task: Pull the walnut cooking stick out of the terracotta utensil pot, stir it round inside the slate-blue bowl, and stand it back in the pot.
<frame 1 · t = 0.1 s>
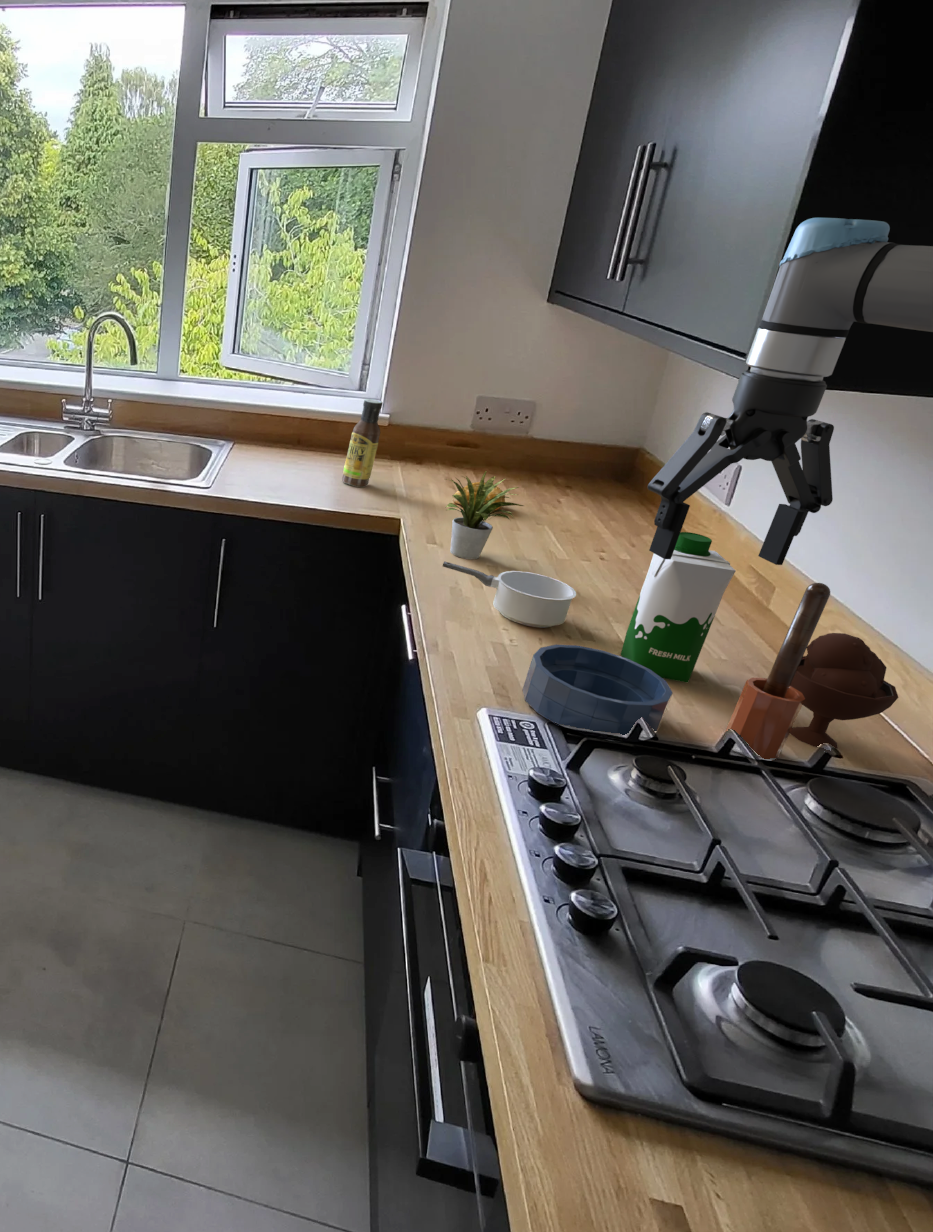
hand: (714, 558, 103), 24 cm above the counter, tool pointing down, fingers open, 13 cm apart
utensil pot: (747, 752, 110), on the counter
saucepan: (498, 609, 147), on the counter
bagel: (476, 506, 201), on the counter
ice cream bowl: (810, 742, 114), on the counter
sauce bottle: (354, 484, 210), on the counter
mixing bowl: (586, 713, 116), on the counter
milk carton: (652, 671, 130), on the counter
house plant: (460, 556, 169), on the counter
cooking stick: (749, 748, 110), point 1 cm above the counter, touching utensil pot
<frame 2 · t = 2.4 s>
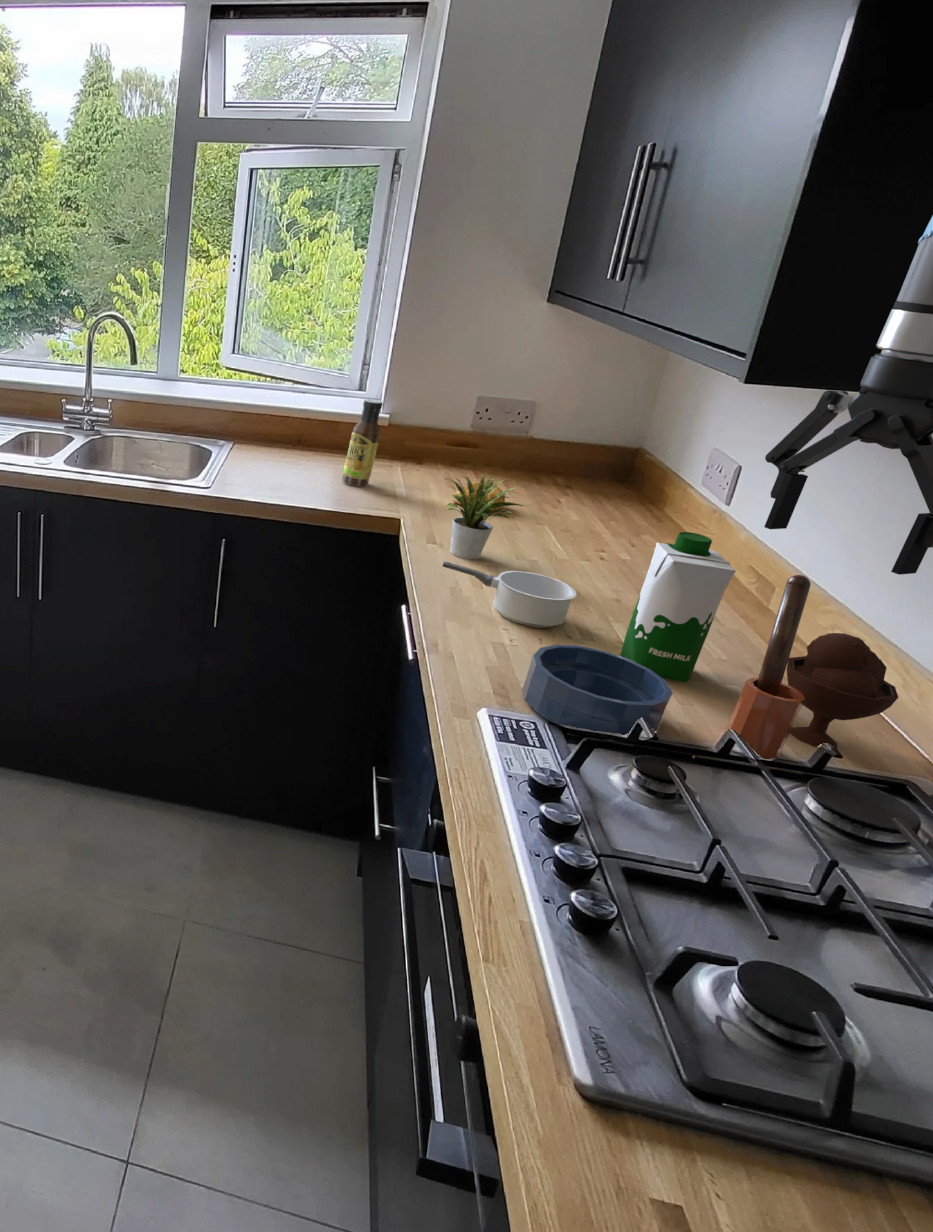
hand: (835, 549, 100), 27 cm above the counter, tool pointing down, fingers open, 13 cm apart
cooking stick: (749, 748, 110), point 1 cm above the counter, tilted 7°, touching utensil pot
everything else where it was.
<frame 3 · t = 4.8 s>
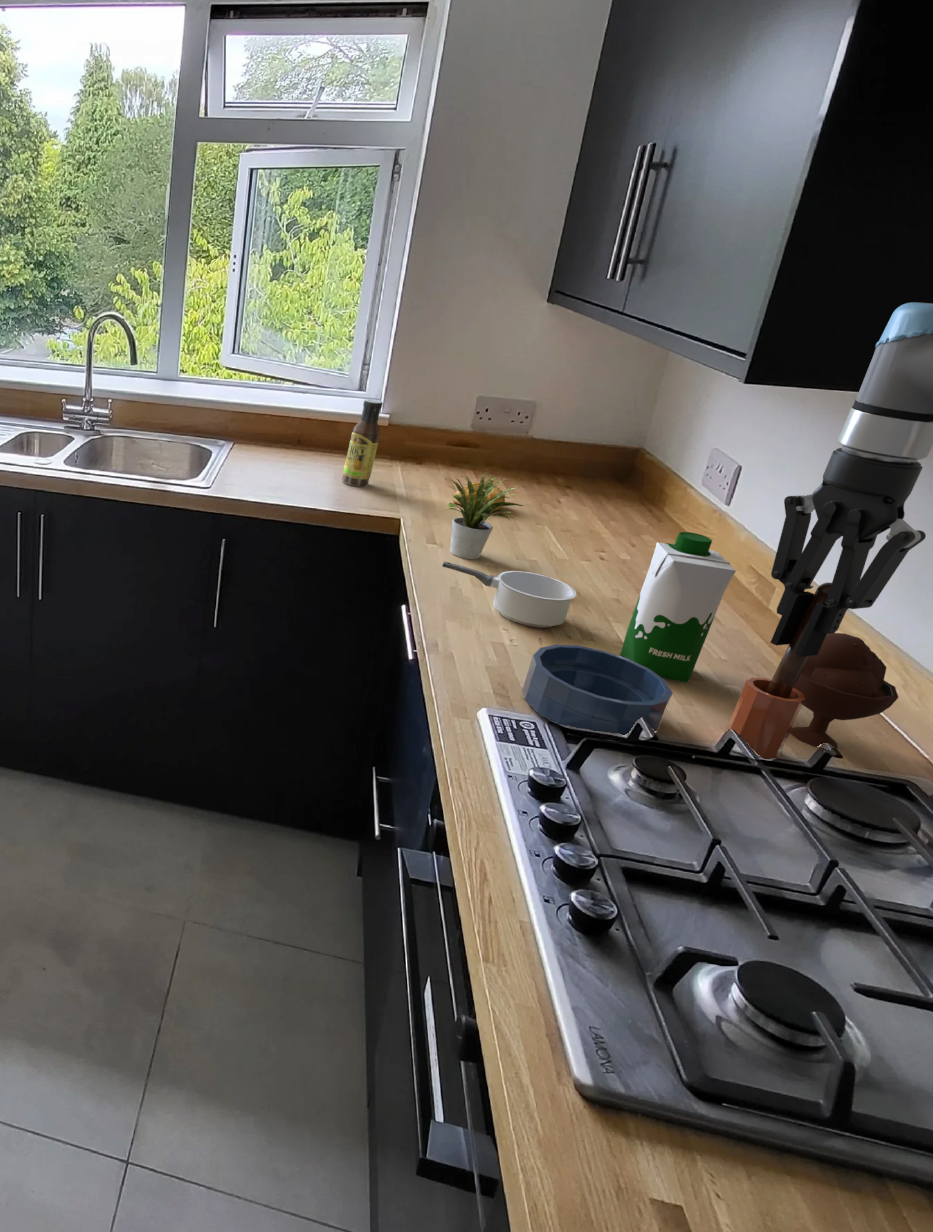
hand: (793, 648, 104), 14 cm above the counter, tool pointing down, fingers closed on cooking stick, 2 cm apart
cooking stick: (749, 748, 110), point 1 cm above the counter, touching gripper
everything else where it was.
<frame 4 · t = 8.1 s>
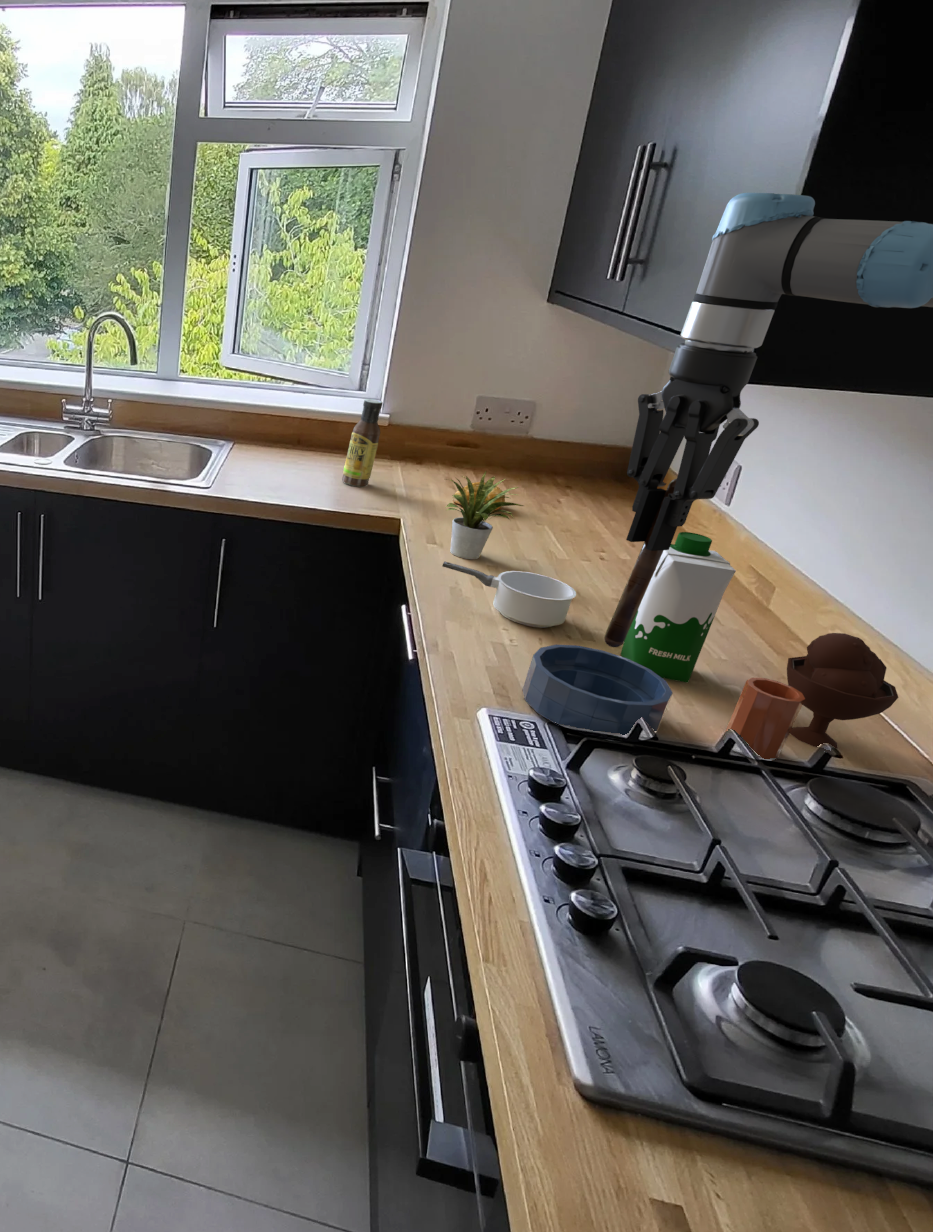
hand: (647, 544, 107), 24 cm above the counter, tool pointing down, fingers closed on cooking stick, 2 cm apart
cooking stick: (610, 646, 113), point 10 cm above the counter, tilted 5°, touching gripper
everything else where it was.
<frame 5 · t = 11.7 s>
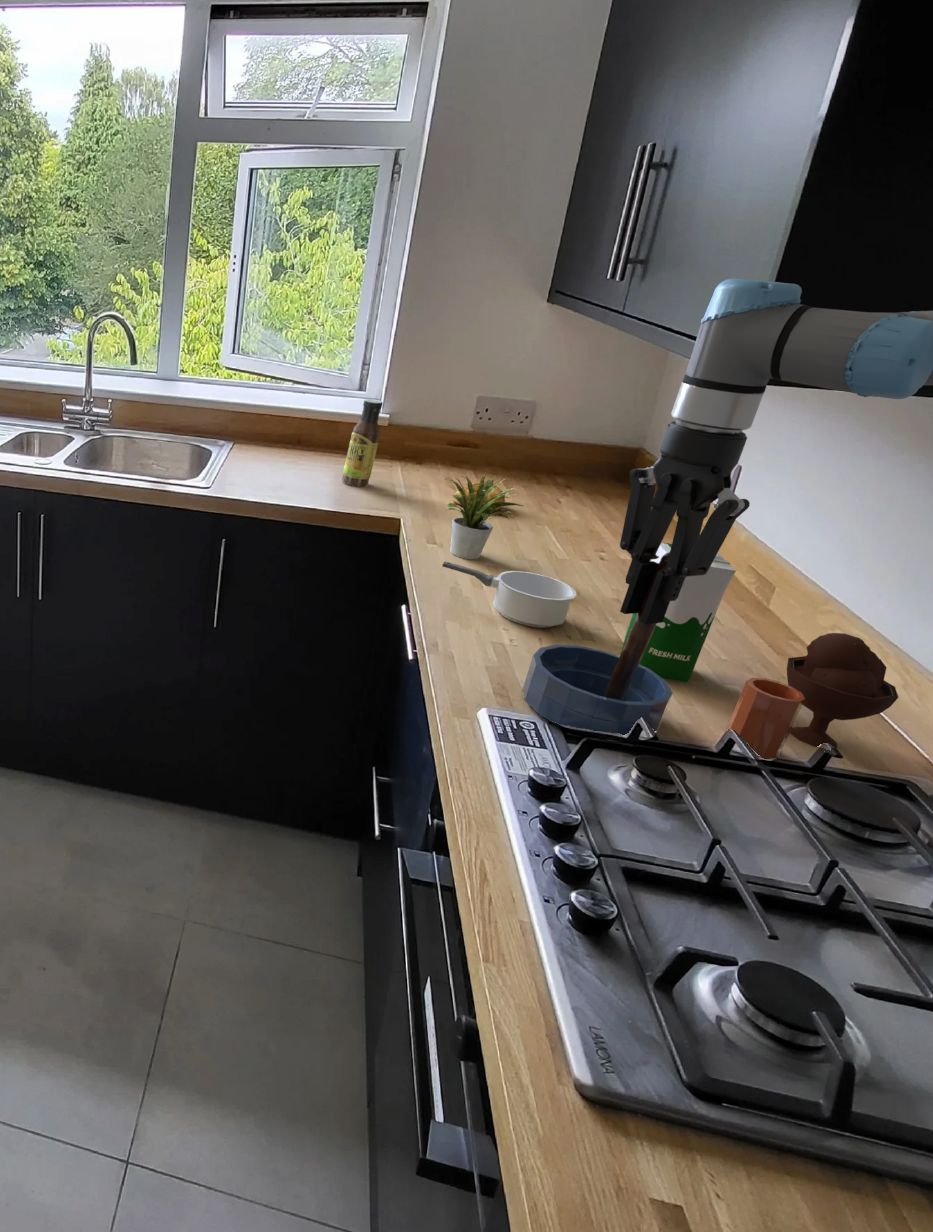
hand: (640, 616, 108), 15 cm above the counter, tool pointing down, fingers closed on cooking stick, 2 cm apart
cooking stick: (606, 715, 113), point 1 cm above the counter, touching gripper
everything else where it was.
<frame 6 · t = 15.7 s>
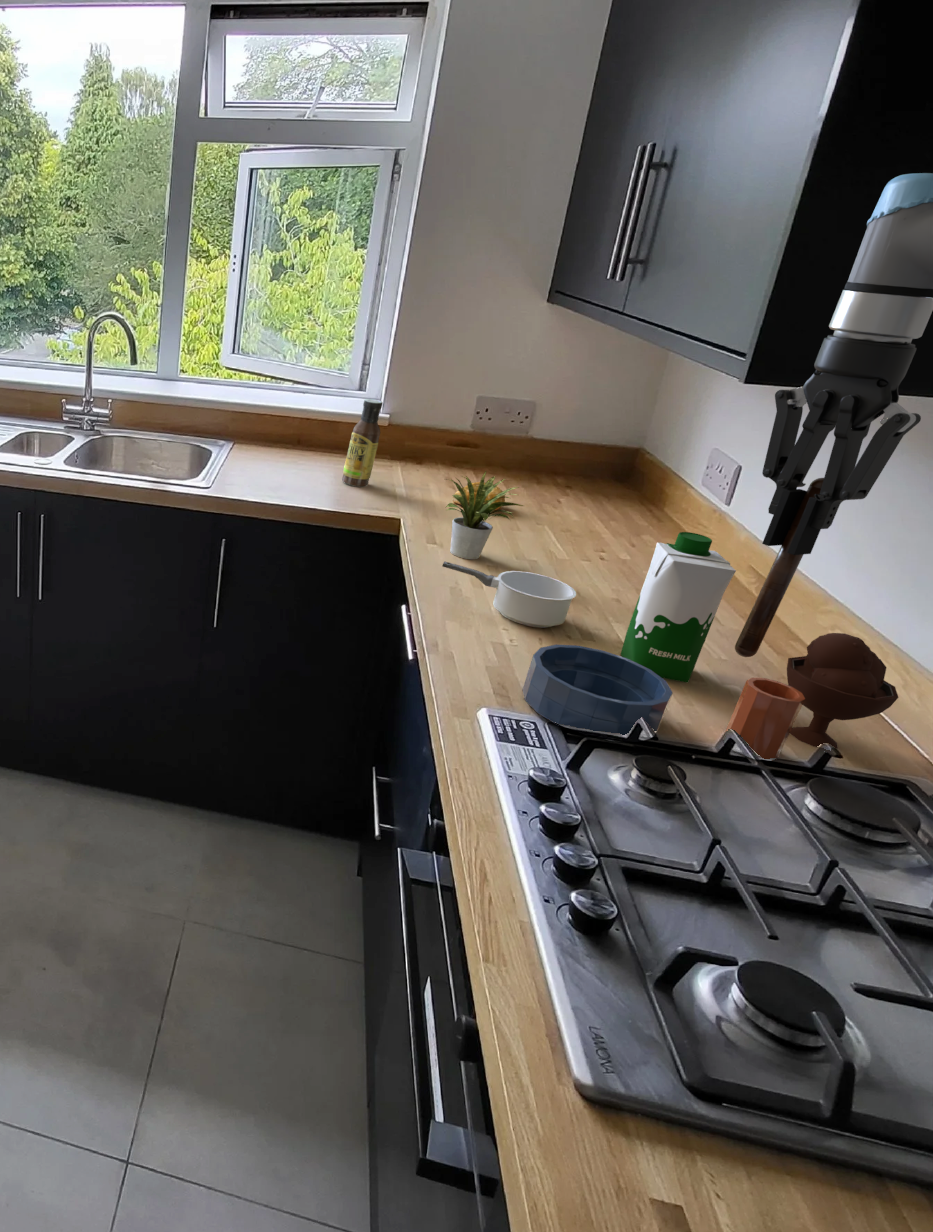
hand: (786, 548, 101), 26 cm above the counter, tool pointing down, fingers closed on cooking stick, 2 cm apart
cooking stick: (742, 656, 107), point 12 cm above the counter, touching gripper
everything else where it was.
when the fingers open (14 cm above the counter, at t = 18.9 s): cooking stick stays where it is, resting on utensil pot.
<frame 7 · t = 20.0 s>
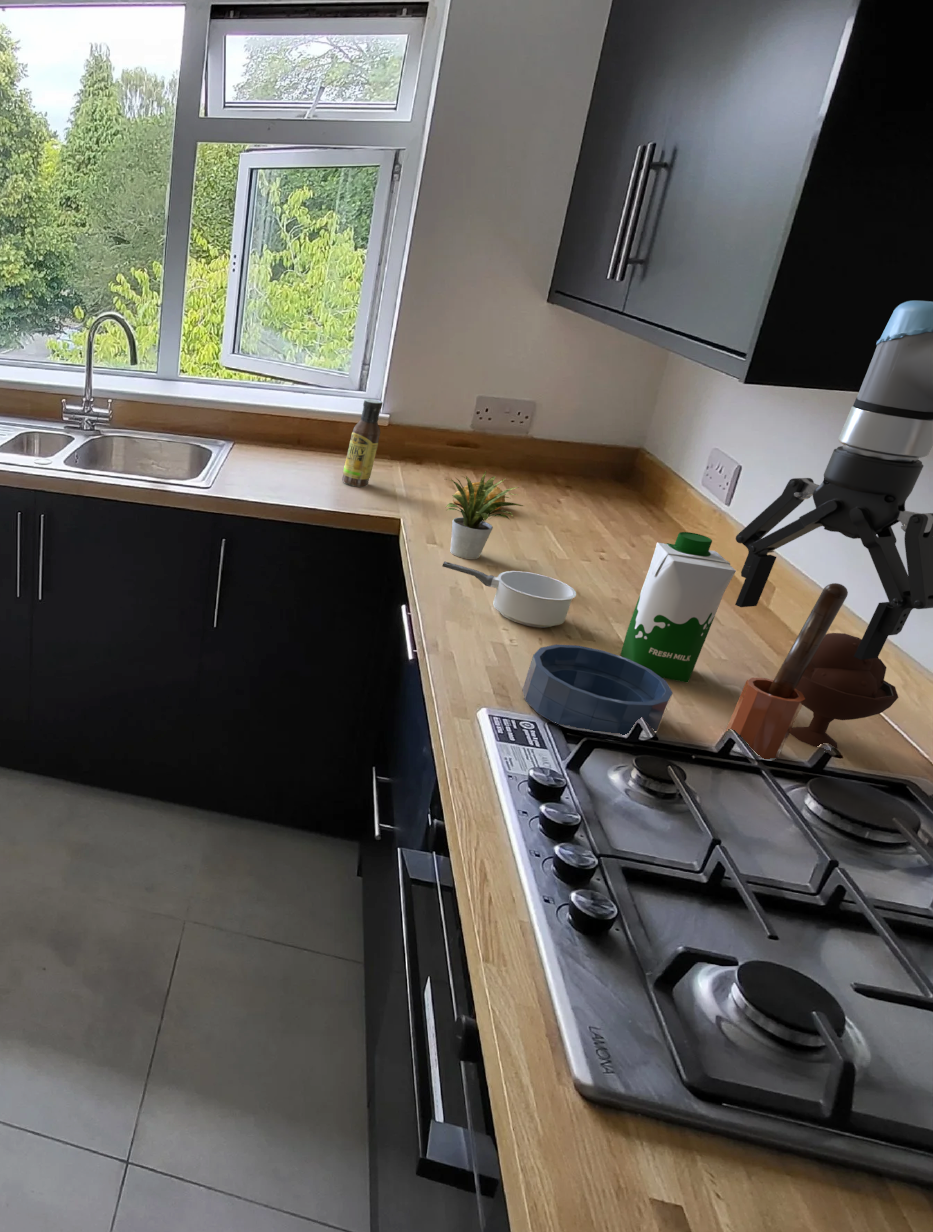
hand: (802, 630, 104), 17 cm above the counter, tool pointing down, fingers open, 13 cm apart
cooking stick: (749, 747, 110), point 1 cm above the counter, tilted 7°, touching utensil pot
everything else where it was.
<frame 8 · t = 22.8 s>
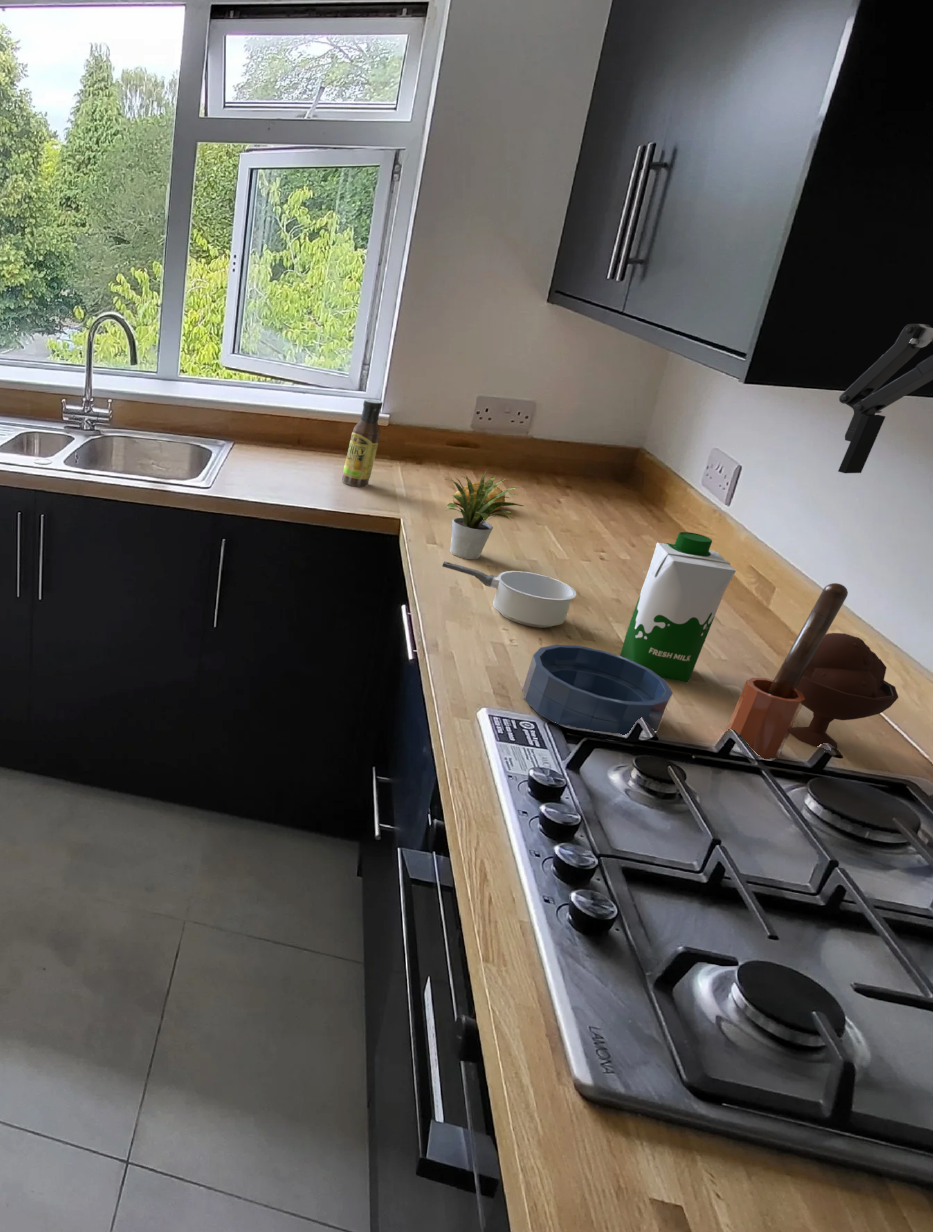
hand: (917, 491, 95), 35 cm above the counter, tool pointing down, fingers open, 13 cm apart
nothing on the counter moved.
at the end: cooking stick 0.1 cm off-centre in the utensil pot, point 0.6 cm above the utensil pot's base; cooking stick tilted 7°; the gripper is holding nothing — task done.
